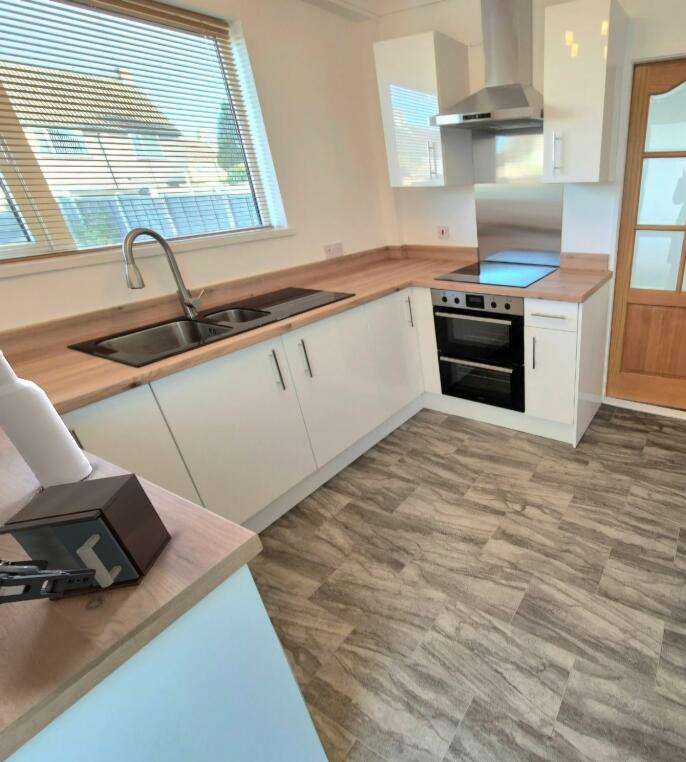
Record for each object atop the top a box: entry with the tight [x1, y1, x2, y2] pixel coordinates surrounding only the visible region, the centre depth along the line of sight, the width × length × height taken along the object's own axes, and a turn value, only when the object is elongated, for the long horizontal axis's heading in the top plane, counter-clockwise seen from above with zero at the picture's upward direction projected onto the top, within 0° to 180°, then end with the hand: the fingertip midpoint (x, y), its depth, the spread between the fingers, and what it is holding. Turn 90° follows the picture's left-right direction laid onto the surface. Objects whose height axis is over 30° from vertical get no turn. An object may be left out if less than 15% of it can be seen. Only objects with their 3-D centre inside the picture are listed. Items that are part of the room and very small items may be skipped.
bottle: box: [0, 349, 93, 490], centre depth 84 cm, size 8×8×30 cm
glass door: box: [51, 518, 139, 588], centre depth 61 cm, size 6×4×12 cm, turn 101°
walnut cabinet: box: [0, 472, 172, 602], centre depth 65 cm, size 12×10×14 cm
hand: (67, 572), depth 57 cm, fingers open, 8 cm apart
